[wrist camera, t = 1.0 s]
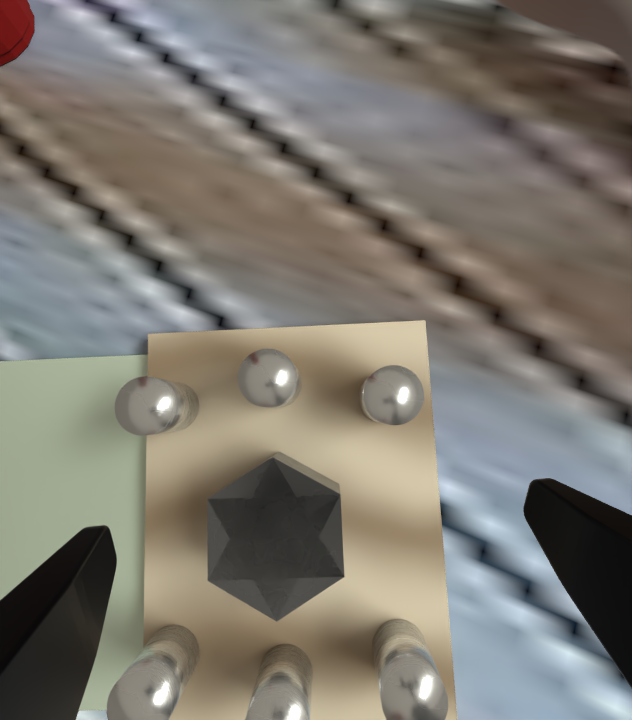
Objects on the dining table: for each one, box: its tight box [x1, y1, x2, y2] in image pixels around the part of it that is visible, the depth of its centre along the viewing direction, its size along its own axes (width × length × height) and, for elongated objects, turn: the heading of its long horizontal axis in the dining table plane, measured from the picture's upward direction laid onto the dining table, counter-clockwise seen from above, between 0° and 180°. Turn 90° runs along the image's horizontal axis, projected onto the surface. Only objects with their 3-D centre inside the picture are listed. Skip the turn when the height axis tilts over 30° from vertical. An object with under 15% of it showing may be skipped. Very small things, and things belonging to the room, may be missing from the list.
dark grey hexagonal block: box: [207, 451, 344, 622], centre depth 18 cm, size 7×6×2 cm
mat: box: [0, 355, 148, 711], centre depth 21 cm, size 18×10×1 cm, turn 2°
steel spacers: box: [107, 348, 448, 720], centre depth 18 cm, size 17×14×4 cm
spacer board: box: [143, 321, 457, 720], centre depth 20 cm, size 20×15×1 cm
